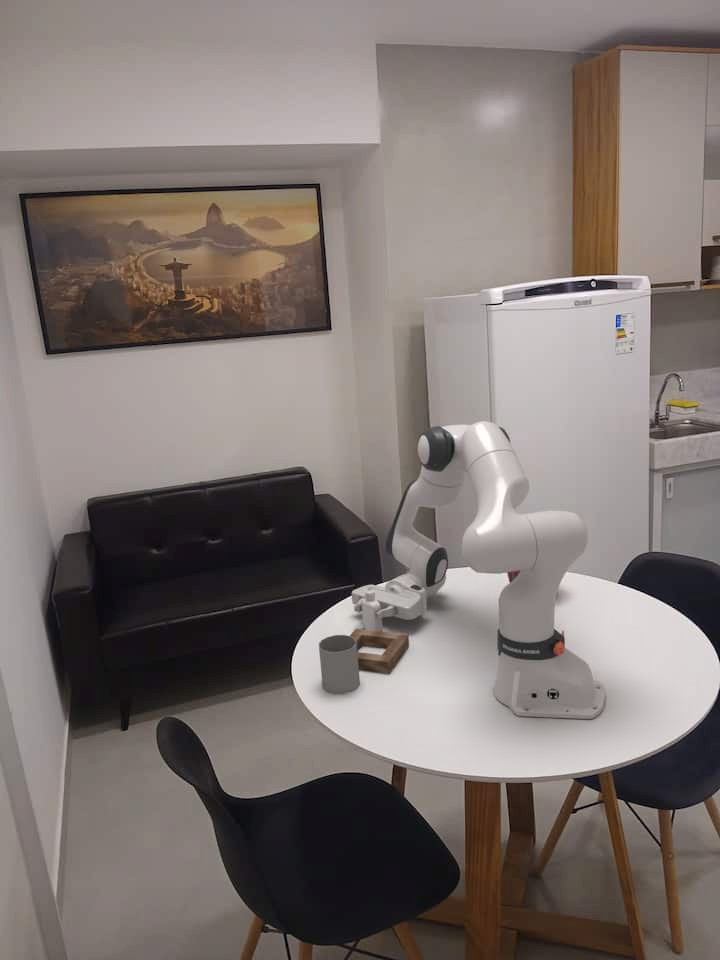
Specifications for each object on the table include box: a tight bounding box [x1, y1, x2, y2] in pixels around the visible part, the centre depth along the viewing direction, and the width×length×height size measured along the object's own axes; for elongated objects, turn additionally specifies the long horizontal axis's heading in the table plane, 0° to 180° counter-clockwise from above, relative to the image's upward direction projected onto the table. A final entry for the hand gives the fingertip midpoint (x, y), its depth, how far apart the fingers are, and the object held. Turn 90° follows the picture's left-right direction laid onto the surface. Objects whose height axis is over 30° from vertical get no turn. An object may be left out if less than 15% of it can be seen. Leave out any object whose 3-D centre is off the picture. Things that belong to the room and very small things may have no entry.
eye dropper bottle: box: [361, 586, 383, 632], centre depth 186 cm, size 4×6×12 cm
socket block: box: [349, 628, 410, 675], centre depth 174 cm, size 14×14×3 cm
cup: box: [318, 634, 361, 695], centre depth 161 cm, size 8×8×10 cm
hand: (366, 612), depth 185 cm, fingers closed on eye dropper bottle, 6 cm apart
